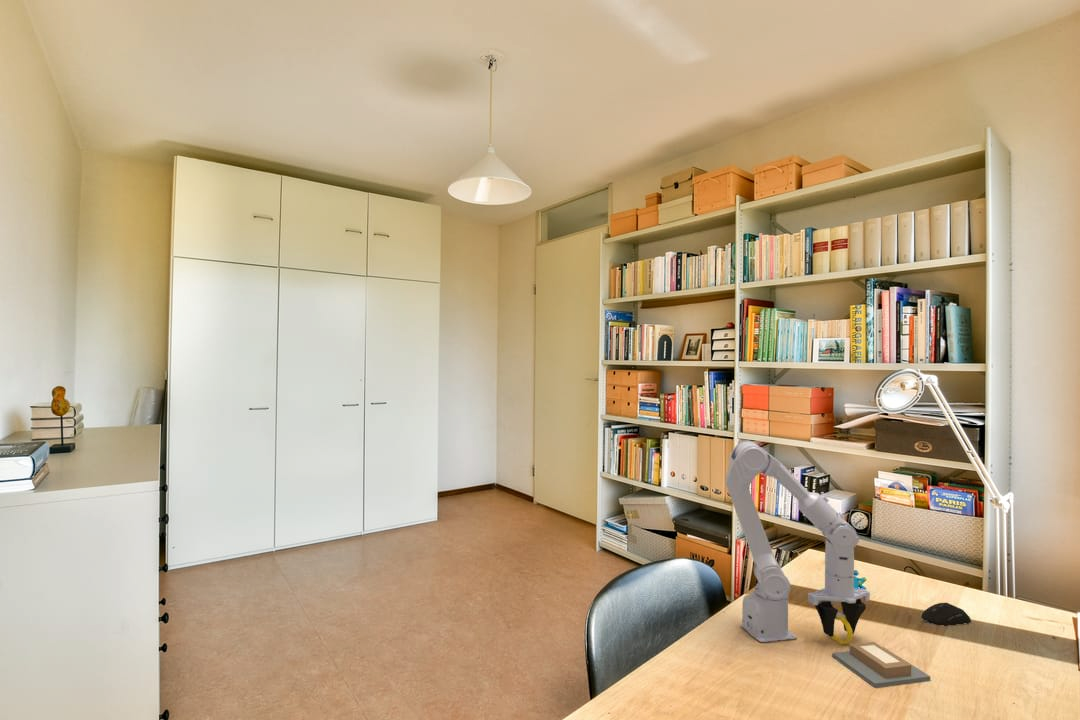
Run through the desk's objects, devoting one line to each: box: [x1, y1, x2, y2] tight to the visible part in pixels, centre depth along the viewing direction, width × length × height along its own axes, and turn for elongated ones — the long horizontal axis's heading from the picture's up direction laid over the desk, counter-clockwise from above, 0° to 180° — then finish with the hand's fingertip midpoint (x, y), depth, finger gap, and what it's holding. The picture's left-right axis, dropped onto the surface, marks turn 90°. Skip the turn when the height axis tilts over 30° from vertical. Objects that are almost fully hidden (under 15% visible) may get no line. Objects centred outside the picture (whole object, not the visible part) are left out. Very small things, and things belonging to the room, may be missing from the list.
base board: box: [831, 641, 931, 688], centre depth 108 cm, size 13×11×3 cm
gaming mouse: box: [921, 602, 972, 627], centre depth 130 cm, size 6×15×4 cm, turn 105°
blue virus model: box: [854, 569, 868, 590], centre depth 145 cm, size 11×6×10 cm
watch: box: [830, 611, 854, 645], centre depth 119 cm, size 6×3×6 cm, turn 21°
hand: (838, 633), depth 119 cm, fingers open, 5 cm apart
